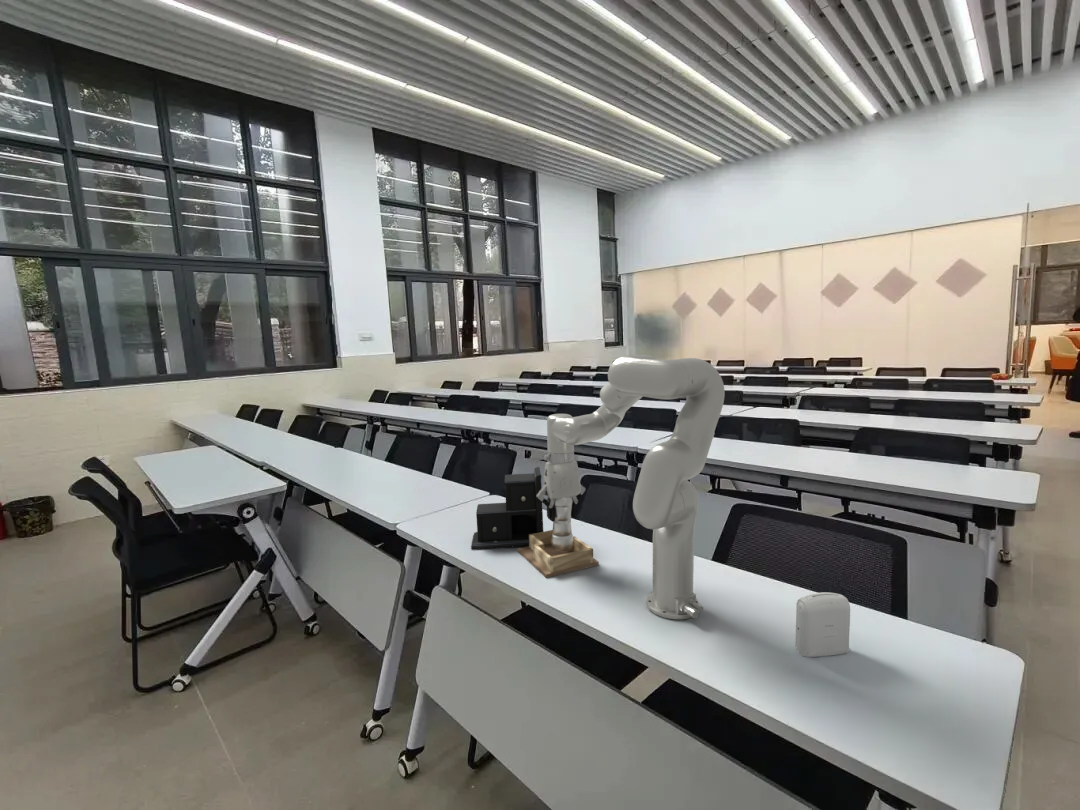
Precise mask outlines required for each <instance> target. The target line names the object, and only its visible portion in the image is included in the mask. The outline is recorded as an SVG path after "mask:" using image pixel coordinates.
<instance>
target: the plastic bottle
mask: <svg viewBox="0 0 1080 810" xmlns="http://www.w3.org/2000/svg"><path fill="white" fill-rule="evenodd" d="M572 502H573V500H572V497H565V498H561V499H555V502H554V505H553V508H555V521H553V522H552V530H553V533H552V539H551V542H552V546H553V548H554V549H555V550H558V551H566V550H569V549H571V547H572V546H573V536H574V535H573V531H572V529H573V528H572V516H571V511H572Z"/></svg>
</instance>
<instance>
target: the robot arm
mask: <svg viewBox="0 0 1080 810" xmlns="http://www.w3.org/2000/svg"><path fill="white" fill-rule="evenodd" d="M607 380H608V381H607V382H606V384H604V385H603V386H602V387H601V388H600V391H599V398H600V400H601V403H602V405H601V406H600V407H598V409H596V410H595V411H593V412H592V413H589V414H583V415H579V416H572V415H571V414H568V413H554V414H550V415H548V417H547V419H546V437H547V445H546V446H547V451H546V454H545V455H543V460H544V461H547V462H545V465H544V471H543V484H542V485H543V486H542V489H541V490H540V491H539V493H538V494H537V495H536V497H537V498H538V499H539V500H540V501H541V502H542V504H544V505H545V507H546V517H547V518H548V520H549V521H551V522H552V523H553V521H555V508H553V505H554V502H555V499H561V498H565V497H572V500H573V502H572V511H571V518H576V516H577V515H576V514H577V504H578V503H579V500H580V499H581V498H582V495H583V494H584V493H585V492H586V487H585V486H583V485H582V484H581V477H580V470H579V467H578V461H577V460H575V446H578V445H582V444H586V443H589V442H594V441H599V440H602V439H603V438H604V437H606V436H607V435H608V434H610V433H611V432H612V431H613V430H615V429H616V428H617V427H618V426H619V425H620V424H621V422H622V420H623V419H624V417H625V415H626V412H627V411H628V410H629V409H630V408H631V407H633V406H634V405H635V404H636V403H637V402H639V400H641V399H642V398H643V397H644V398H650V399H659V400H675V399H681V398H686V400H685V402H684V404H683V406H682V408H681V410H680V411H679V413H678V416H677V419H676V421H675V426H674V429H673V432H672V435H671V437H670V438H669V439H668V440H666V441H664V442H661V443H658V444H655V445H653V447H651V448H650V449H649V451H647V454H646V455H645V457H644V459H643V461H642V465H641V468H640V473H639V476H638V479H637V483H636V487H635V491H634V494H633V500H632V511H633V514H634V518H635V519H636V521H637V522H638V523H639V524H640V525H641V526H642V527H644V528H646V529H649V530H652V531H653V532H652V592H650V593H649V594H648V595H647V596H646V598H645V605H646V608H647V609H648V610H649V611H650V612H651V613H653V614H655V615H656V616H659V617H662V618H665V619H669V620H687V619H691V618H692V619H697V618H698V617H699V615H700V614H699V613H700V612H702V611H703V608H704V607H703V606H702V605H701V604H700V601H699V600H698V599H697V593H696V594H695V593H694V565H695V563H694V562H695V560H694V559H695V556H694V555H695V554H694V553H695V529H696V527H695V526H696V521H697V516H698V515H697V514H698V508H699V496H698V492H697V489H696V487H694V485H693V483H691V482H690V481H689V480H691V479H693V478H695V477H696V476H698V475H699V474H700V473H701V472H702V471H703V469H704V467H705V465H706V462H707V458H708V455H709V451H710V448H711V446H712V442H713V439H714V435H715V431H716V427H717V425H718V423H719V419H720V417H721V416H720V415H721V414H722V413H721V412H722V409H723V407H724V402H725V395H726V394H725V385H724V381H723V378H722V376H721V374H720V373H719V371H718V370H717V368H715V366H713V365H712V364H711V363H710V362H708V361H706V360H703V359H700V358H696V357H687V358H676V359H657V358H655V357H654V356H653V355H649V354H634V355H633V354H630V355H629V354H628V355H622V356H620V357H617V358H616V359H615V360H614V361H612V363H611V364H610V366H609V368H608V370H607ZM544 496H546V498H545V497H544Z"/></svg>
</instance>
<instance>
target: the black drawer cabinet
mask: <svg viewBox="0 0 1080 810" xmlns="http://www.w3.org/2000/svg"><path fill="white" fill-rule="evenodd" d="M542 488H543V486H542V474H541V469H540V466H536V467H535V468H534V470H533V473H532V472H531V473H516V474H515V473H513V474H511V473H510V474H505V475H504V493H505V502H497V503H496V502H494V503H493V502H492V503H478V504H477V507H476V512H475V513H476V515H475V516H476V530H477V531H475V532H473V535H472V539H471V540H472V541H471V545H470V549H477V550H487V549H488V550H489V549H490V550H493V549H505V548H509V549H510V548H523V547H528V546H529V535H530V534H535V533H540V532H544V518H543V517H544V516H543V515H544V514H543V502H541V501H540V500H539V499H538V498H537V497H536V495H537V494H538V493H539V491H540V490H541V489H542Z"/></svg>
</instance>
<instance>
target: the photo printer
mask: <svg viewBox="0 0 1080 810" xmlns="http://www.w3.org/2000/svg"><path fill="white" fill-rule="evenodd" d="M795 612H796V613H795V619H796V620H795V642H794V643H795V647H796V651H797V652H798V654H799V655H801V656H803V657H806V658H813V657H825V656H834V655H843V654H847V653H849V648H850V630H851V629H850V627H851V605H850V602H849V600H848V598H847V597H846V596H844V595H843V594H841V593H835V592H825V591H824V592H823V591H822V592H816V593H810V594H807V595H804V596H802V597H800V598H798V599H797V602H796V610H795Z"/></svg>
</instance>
